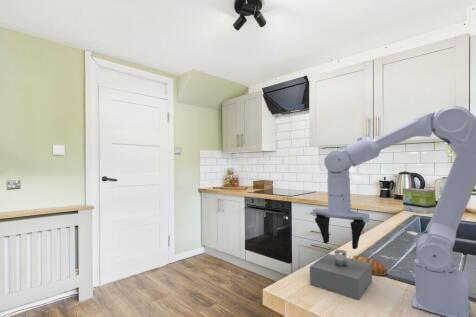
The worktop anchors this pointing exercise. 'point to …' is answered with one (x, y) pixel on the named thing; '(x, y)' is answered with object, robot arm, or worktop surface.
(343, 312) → the worktop surface
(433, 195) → the tea box
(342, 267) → the cover
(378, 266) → the pastry
